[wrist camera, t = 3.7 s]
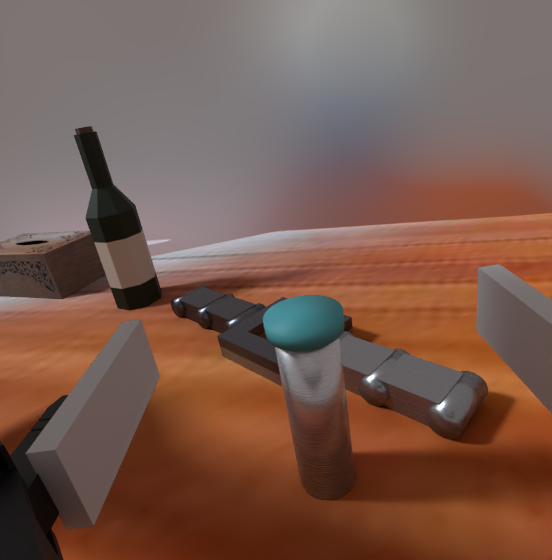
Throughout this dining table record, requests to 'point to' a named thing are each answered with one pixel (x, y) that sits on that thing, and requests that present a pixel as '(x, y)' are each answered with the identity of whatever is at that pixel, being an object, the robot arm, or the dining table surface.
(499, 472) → the dining table surface
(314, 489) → the steel pin
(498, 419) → the dining table surface
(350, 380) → the chain ends
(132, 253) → the wine bottle
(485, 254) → the dining table surface
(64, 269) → the tissue box cover
